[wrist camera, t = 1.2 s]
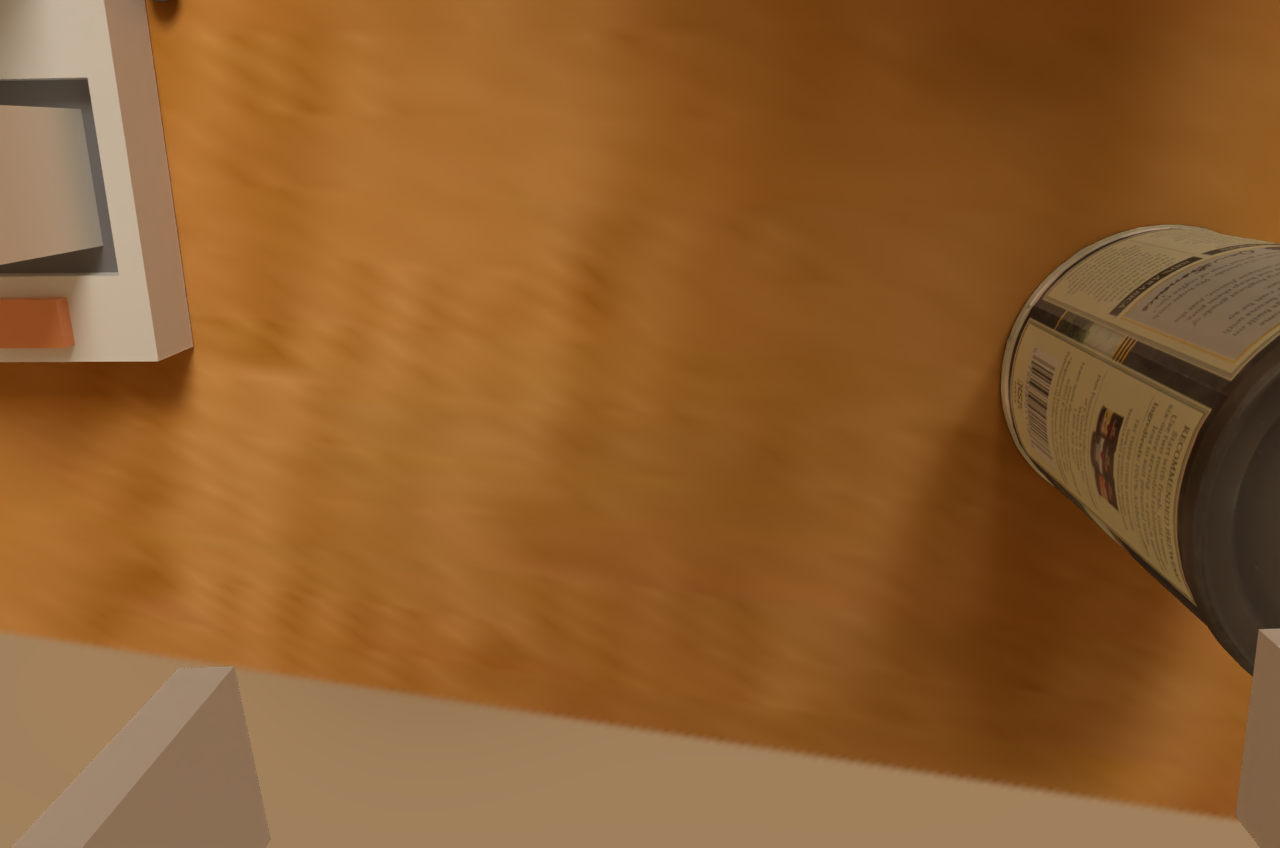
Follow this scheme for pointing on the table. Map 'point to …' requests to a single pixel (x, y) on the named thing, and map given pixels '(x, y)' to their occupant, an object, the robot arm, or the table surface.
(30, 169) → the white plug
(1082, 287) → the coffee can
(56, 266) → the strip
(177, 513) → the table surface
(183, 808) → the robot arm
